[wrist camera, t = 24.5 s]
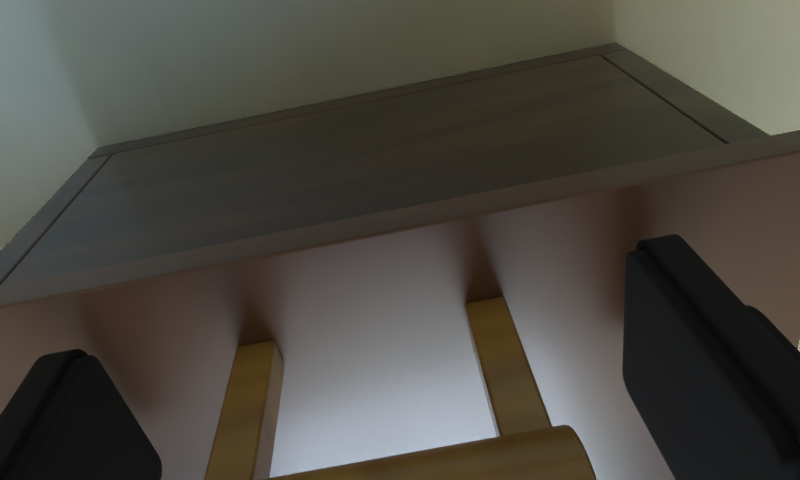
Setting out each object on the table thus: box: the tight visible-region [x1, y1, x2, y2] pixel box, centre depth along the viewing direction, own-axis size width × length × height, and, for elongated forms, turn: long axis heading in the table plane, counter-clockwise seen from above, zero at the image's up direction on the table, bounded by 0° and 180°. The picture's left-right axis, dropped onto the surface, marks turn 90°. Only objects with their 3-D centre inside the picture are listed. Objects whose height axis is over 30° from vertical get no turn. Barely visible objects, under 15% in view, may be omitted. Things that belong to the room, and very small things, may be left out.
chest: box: [0, 43, 770, 287], centre depth 17 cm, size 12×16×8 cm
